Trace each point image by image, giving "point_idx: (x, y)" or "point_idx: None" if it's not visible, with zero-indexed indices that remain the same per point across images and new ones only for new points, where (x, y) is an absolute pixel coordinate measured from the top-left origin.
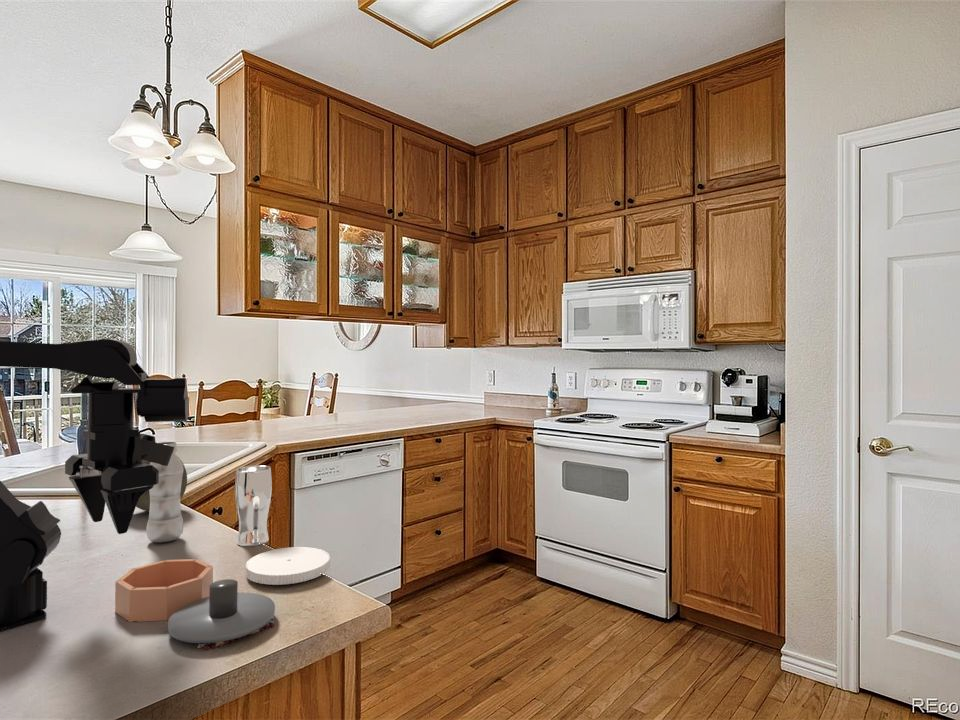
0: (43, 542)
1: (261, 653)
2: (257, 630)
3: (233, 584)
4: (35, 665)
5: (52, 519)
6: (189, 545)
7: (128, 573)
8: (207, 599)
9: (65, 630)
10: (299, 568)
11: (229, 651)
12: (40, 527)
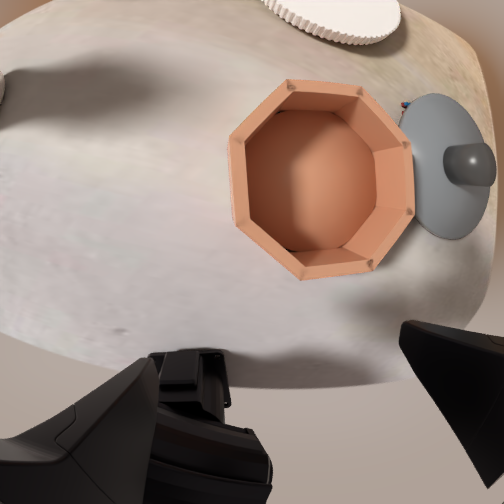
0: (269, 469)
1: None
2: None
3: (491, 156)
4: (367, 366)
5: (160, 479)
6: (36, 63)
7: (267, 243)
8: None
9: (296, 335)
10: (382, 2)
11: None
12: (254, 500)
